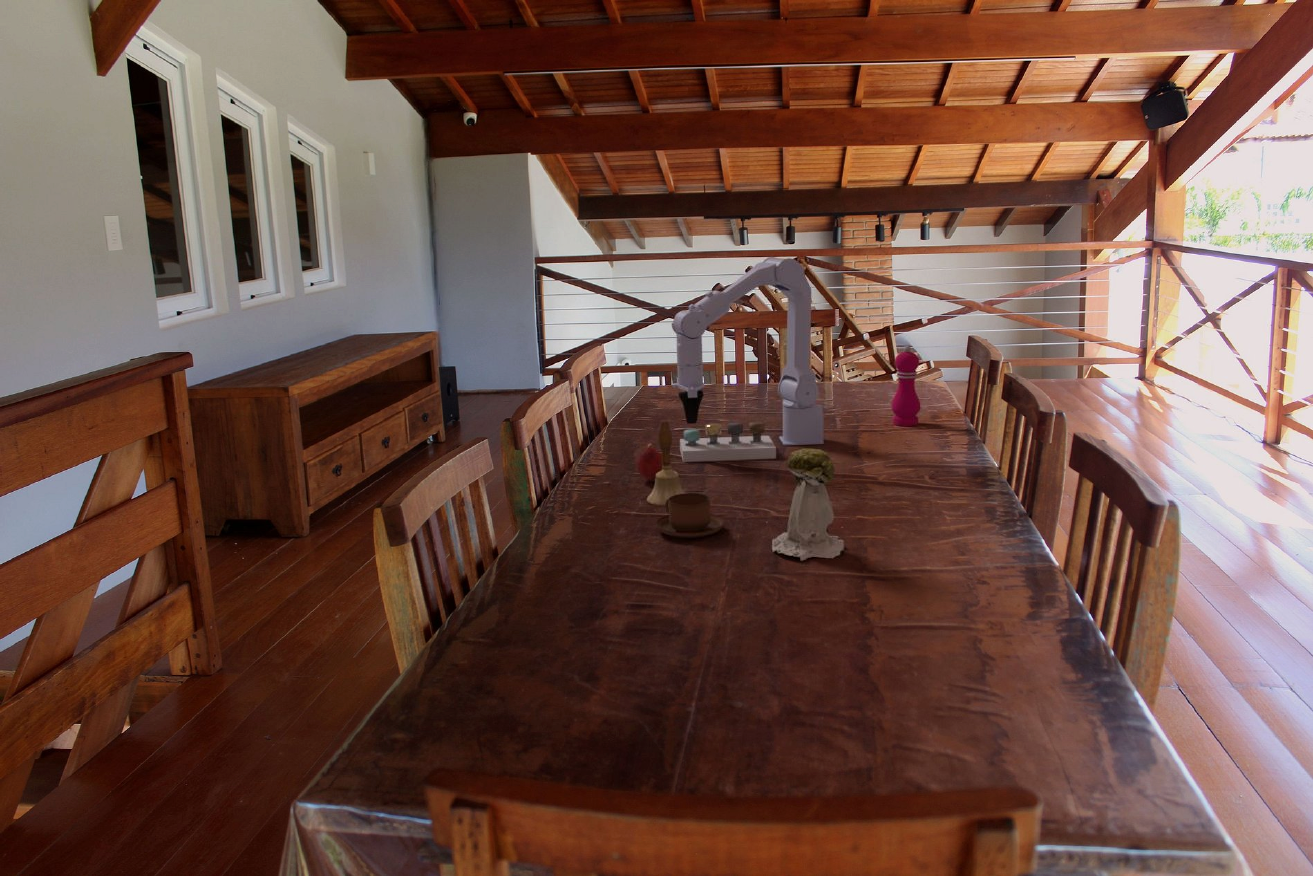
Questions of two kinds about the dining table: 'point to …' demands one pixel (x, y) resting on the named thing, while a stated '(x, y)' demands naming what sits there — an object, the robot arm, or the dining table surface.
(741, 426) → the dark grey rounded knob
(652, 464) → the onion
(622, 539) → the dining table surface
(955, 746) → the dining table surface
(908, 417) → the pepper mill
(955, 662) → the dining table surface
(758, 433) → the walnut key
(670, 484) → the hand bell
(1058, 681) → the dining table surface
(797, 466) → the moss topped figurine
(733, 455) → the console
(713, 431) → the brass dome cap
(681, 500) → the cup and saucer
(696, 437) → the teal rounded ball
